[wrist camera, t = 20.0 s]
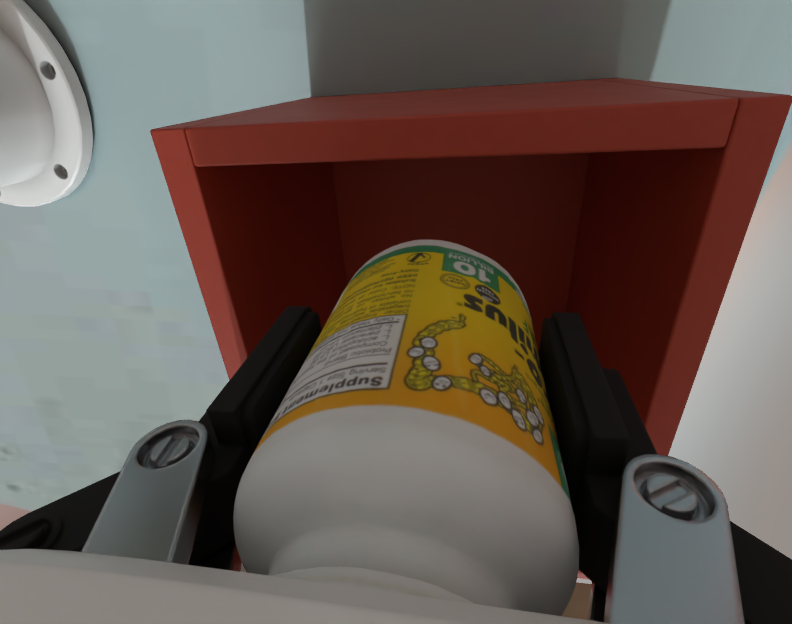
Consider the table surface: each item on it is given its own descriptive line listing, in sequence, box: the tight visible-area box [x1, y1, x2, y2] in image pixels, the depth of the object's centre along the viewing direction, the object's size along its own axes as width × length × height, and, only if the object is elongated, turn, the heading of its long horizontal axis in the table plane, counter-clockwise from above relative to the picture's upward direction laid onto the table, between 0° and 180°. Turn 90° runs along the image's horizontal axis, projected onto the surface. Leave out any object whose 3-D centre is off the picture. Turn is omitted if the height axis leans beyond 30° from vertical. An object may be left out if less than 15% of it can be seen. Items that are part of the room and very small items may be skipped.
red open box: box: [150, 78, 792, 579], centre depth 20 cm, size 18×15×13 cm
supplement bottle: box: [233, 240, 579, 616], centre depth 8 cm, size 5×5×10 cm
